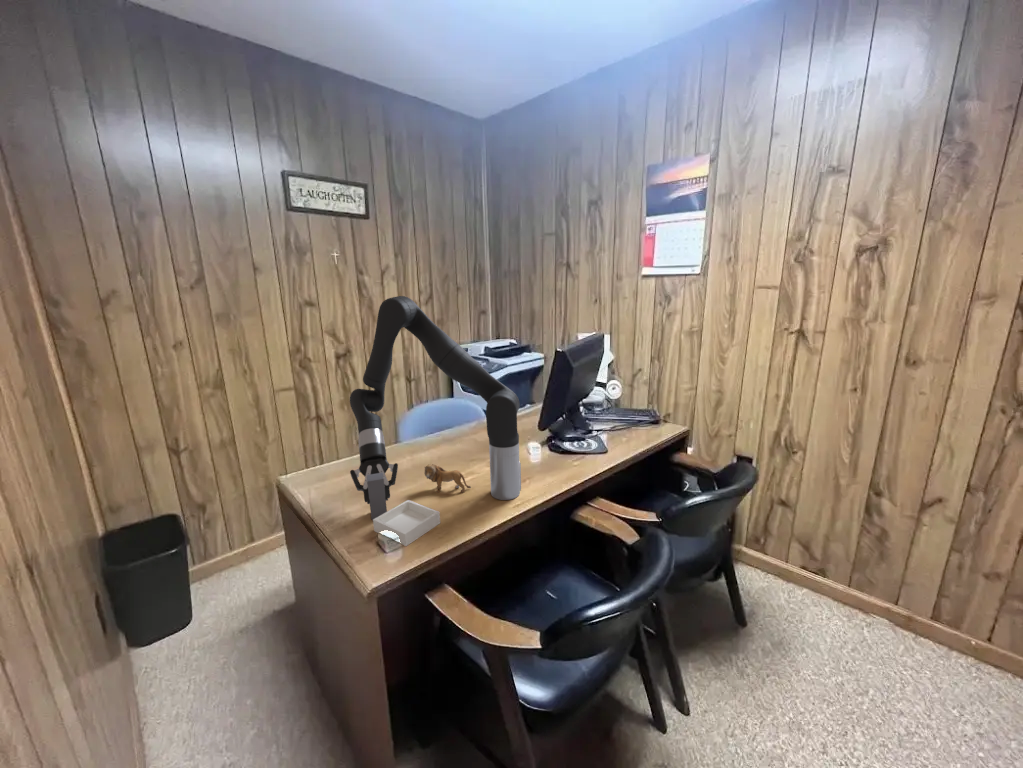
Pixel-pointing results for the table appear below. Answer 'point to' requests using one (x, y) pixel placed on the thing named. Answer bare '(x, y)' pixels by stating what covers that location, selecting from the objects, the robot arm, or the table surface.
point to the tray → (407, 521)
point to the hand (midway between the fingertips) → (377, 501)
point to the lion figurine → (444, 476)
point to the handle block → (376, 494)
